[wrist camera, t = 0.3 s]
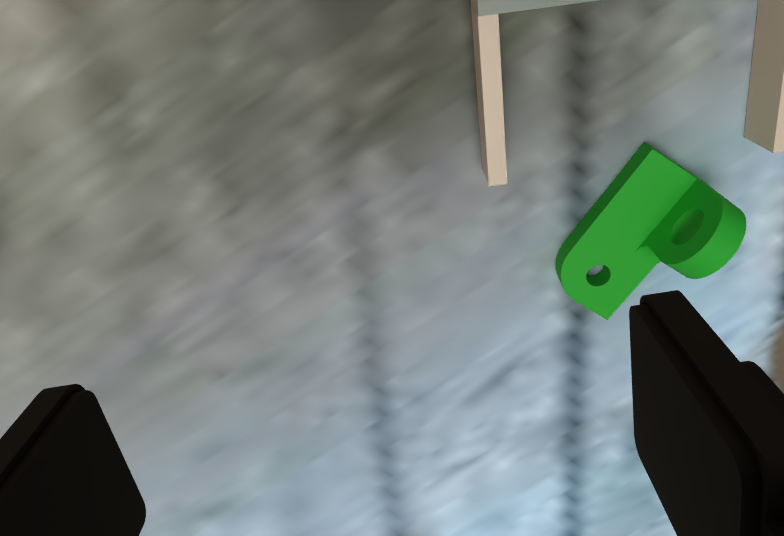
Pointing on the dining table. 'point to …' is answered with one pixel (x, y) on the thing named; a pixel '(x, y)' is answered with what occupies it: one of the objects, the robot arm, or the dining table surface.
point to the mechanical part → (647, 232)
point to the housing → (773, 24)
